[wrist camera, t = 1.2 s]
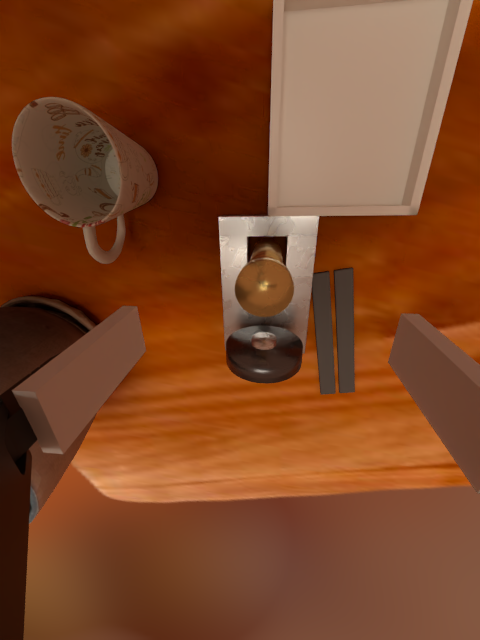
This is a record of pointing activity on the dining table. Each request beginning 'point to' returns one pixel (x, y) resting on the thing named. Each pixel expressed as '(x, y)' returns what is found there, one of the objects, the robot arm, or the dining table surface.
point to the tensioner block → (275, 331)
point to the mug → (81, 168)
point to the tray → (358, 102)
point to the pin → (264, 281)
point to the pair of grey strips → (343, 326)
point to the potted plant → (29, 353)
